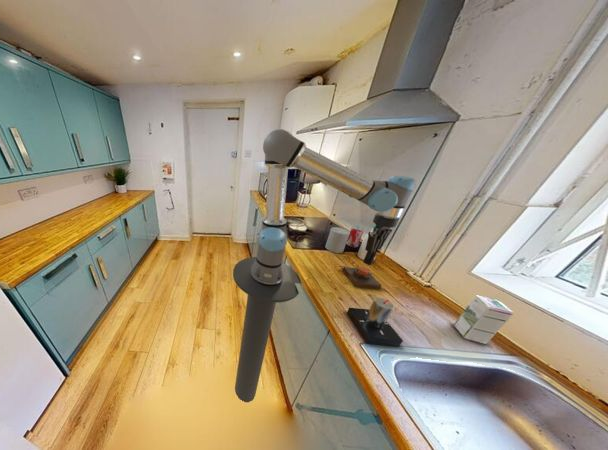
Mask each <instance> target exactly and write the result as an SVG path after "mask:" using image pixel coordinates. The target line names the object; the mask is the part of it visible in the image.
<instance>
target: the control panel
mask: <svg viewBox="0 0 608 450" xmlns="http://www.w3.org/2000/svg"><path fill="white" fill-rule="evenodd" d="M369 309H370V308H368V309H367V308H358V307H348V309H347V312H346V314H347V316H348V317H349V319H350V320H351V322H352V324H353V325H354V327H355V328H356V330H357V331H358V333H359V335H360V336H361V338H362V339H363V341H364V342H365V344H370V345H378V346H387V347H388V346H389V347H397V348H400V347H401V345H402V343H403V342H404V340H403V339H402V337H401V336H400V335H399V333H398V332H397V331H396V330H395V329H394V328H393V327H392V326H391V324H390V323H389V322H388V320H387V321H386V323H385V325H384V327H383V328H382V329H377V328H374V327H372V326H370V325H369V324H368V323H367V322H366V320H365V317H366V315H367V313H368V311H369Z"/></svg>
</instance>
